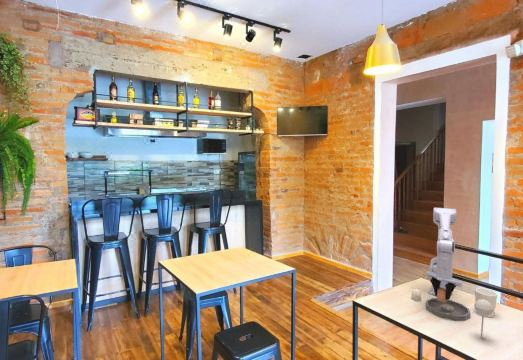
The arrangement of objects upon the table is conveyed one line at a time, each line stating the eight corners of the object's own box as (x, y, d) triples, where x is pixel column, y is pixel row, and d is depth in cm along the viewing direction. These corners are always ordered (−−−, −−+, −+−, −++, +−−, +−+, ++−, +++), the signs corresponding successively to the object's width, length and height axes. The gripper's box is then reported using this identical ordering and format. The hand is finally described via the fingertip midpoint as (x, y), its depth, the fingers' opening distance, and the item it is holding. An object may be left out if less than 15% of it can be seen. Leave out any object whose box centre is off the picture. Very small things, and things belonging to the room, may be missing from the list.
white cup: (496, 313, 141) (498, 292, 140) (494, 320, 135) (495, 297, 134) (475, 307, 146) (477, 286, 145) (472, 313, 140) (473, 291, 139)
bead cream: (414, 296, 156) (415, 287, 156) (422, 300, 153) (422, 290, 152) (409, 298, 154) (410, 288, 153) (417, 302, 151) (418, 292, 150)
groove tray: (437, 299, 154) (438, 295, 154) (476, 313, 140) (477, 309, 140) (418, 307, 145) (418, 303, 144) (458, 324, 130) (458, 320, 130)
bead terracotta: (439, 297, 142) (440, 286, 141) (449, 301, 138) (449, 290, 138) (435, 299, 139) (435, 288, 139) (444, 303, 136) (445, 292, 136)
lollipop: (491, 344, 117) (494, 305, 116) (472, 339, 120) (475, 301, 119) (490, 336, 122) (492, 299, 121) (471, 331, 125) (474, 295, 124)
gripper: (422, 263, 142) (421, 293, 143) (457, 274, 130) (455, 306, 131) (431, 261, 146) (429, 289, 147) (465, 270, 133) (463, 301, 134)
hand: (442, 297), depth 139 cm, fingers closed on bead terracotta, 4 cm apart
